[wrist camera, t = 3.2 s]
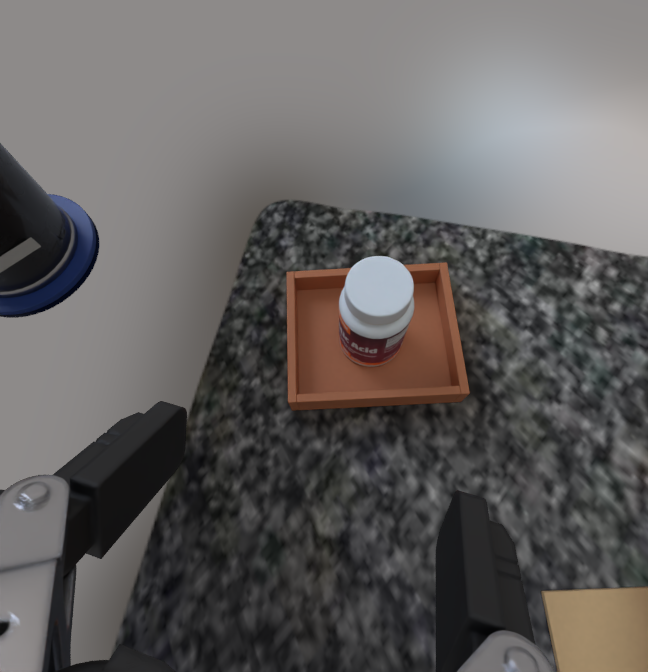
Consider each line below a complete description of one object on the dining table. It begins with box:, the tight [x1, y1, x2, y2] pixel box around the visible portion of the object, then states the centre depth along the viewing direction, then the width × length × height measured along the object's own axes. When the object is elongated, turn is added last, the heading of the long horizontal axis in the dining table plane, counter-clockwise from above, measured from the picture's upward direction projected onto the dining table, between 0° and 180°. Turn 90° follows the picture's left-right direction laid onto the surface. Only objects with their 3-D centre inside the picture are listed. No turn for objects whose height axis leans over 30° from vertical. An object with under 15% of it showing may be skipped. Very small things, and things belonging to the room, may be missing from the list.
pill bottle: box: [339, 256, 414, 367], centre depth 29 cm, size 5×5×8 cm
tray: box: [287, 263, 470, 411], centre depth 32 cm, size 12×10×2 cm
